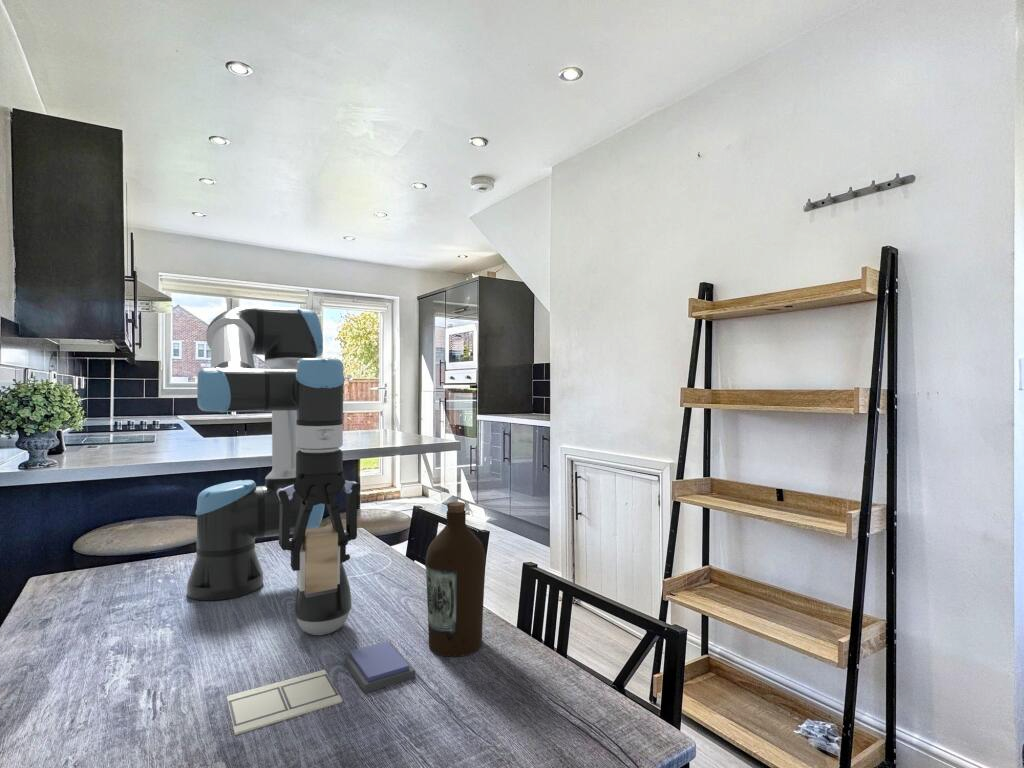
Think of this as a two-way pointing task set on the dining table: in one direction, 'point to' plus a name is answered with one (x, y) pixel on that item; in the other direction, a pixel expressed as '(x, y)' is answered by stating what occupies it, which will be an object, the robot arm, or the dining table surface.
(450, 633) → the olive oil
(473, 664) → the dining table surface
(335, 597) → the pump dispenser
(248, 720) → the tag card
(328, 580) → the tall wooden block
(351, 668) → the ink pad
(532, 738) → the dining table surface
